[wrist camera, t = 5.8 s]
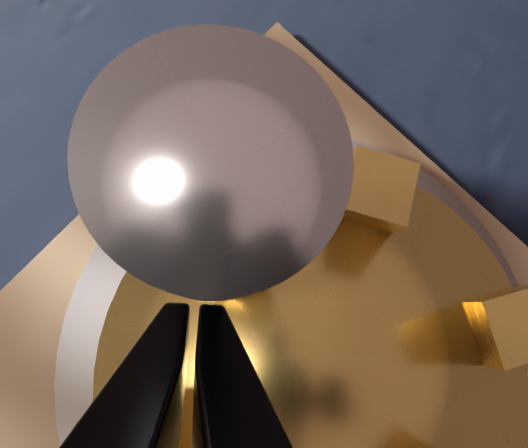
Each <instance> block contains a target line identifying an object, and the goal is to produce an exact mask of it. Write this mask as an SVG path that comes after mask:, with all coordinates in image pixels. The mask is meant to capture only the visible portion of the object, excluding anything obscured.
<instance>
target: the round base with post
mask: <svg viewBox="0 0 528 448" xmlns="http://www.w3.org/2000/svg"><path fill="white" fill-rule="evenodd" d="M67 165H68V175H69V183H70V187H71V191H72V195H73V199H74V202H75V205H76V207H77V210H78V212H79V215H80V217H81V219H82V221H83V222H84V224H85V226H86V228H87V229H88V231H89V233H90V235H91V236H92V237H93V239H94V240H95V241H96V242H97V244H98V245H99V246H100V248H101V249H102V250H103V251H104V252H105V253H106V254H107V255H108V256H109V257H110V258H111V259H112V260H113V261H114V262H115V263H116V264H117V265H119V266H120V267H121V268H123V269H124V270H125V271H127V272H126V273H125V275H124V277H123V278H122V280H121V282H120V284H119V286H118V288H117V291H116V293H115V295H114V297H113V300H112V302H111V304H110V306H109V309H108V311H107V315H106V318H105V322H104V325H103V328H102V332H101V335H100V338H99V343H98V349H97V355H96V361H95V367H94V379H93V401H94V399H95V398H96V397H97V395H98V394H99V393H100V391H101V390H102V389H103V387H104V386H105V384H106V383H107V382H108V380H109V379H110V378H111V376H112V375H113V374H114V372H115V371H116V369H117V368H118V367H119V365H120V364H121V363H122V361H123V360H124V359H125V357H126V356H127V354H128V353H129V352H130V350H131V349H132V348H133V346H134V345H135V344H136V342H137V341H138V339H139V338H140V337H141V335H142V334H143V333H144V331H145V330H146V329H147V327H148V326H149V324H150V323H151V322H152V320H153V319H154V318H155V316H156V315H157V314H158V312H159V311H160V309H161V308H162V307H163V305H164V304H166V303H168V302H174V303H187V304H189V306H190V324H189V346H188V359H187V371H186V383H185V395H184V407H183V419H182V428H181V435H180V441H179V446H178V448H192V416H193V394H194V372H195V351H196V340H197V328H198V317H199V307H200V305H202V304H220V305H223V306H224V307H225V309H226V311H227V313H228V315H229V317H230V319H231V321H232V323H233V325H234V327H235V329H236V331H237V333H238V335H239V337H240V340H241V342H242V344H243V346H244V348H245V350H246V352H247V354H248V356H249V358H250V360H251V362H252V364H253V366H254V368H255V370H256V372H257V374H258V377H259V379H260V381H261V383H262V385H263V387H264V389H265V391H266V393H267V395H268V397H269V399H270V401H271V403H272V405H273V407H274V409H275V411H276V414H277V416H278V418H279V420H280V422H281V424H282V426H283V428H284V430H285V432H286V434H287V436H288V438H289V440H290V442H291V444H292V446H293V448H528V285H521V286H515V287H512V285H511V283H510V281H509V278H508V276H507V274H506V273H505V271H504V270H503V268H502V267H501V265H500V264H499V262H498V260H497V259H496V257H495V256H494V254H493V253H492V251H491V250H490V249H489V247H488V246H487V245H486V244H485V243H484V241H483V240H482V239H481V238H480V237H479V235H478V234H477V233H476V232H475V231H474V229H473V228H472V227H471V226H469V225H468V224H467V223H466V222H465V221H464V220H463V219H462V218H461V217H460V216H459V215H458V214H457V213H456V212H455V211H454V210H452V209H451V208H450V207H448V206H447V205H446V204H444V203H443V202H442V201H440V200H439V199H438V198H436V197H435V196H434V195H432V194H430V193H429V192H427V191H425V190H423V189H422V188H420V187H418V186H416V183H417V179H418V174H419V169H420V163H417V162H413V161H410V160H407V159H403V158H400V157H397V156H393V155H390V154H387V153H383V152H380V151H377V150H373V149H370V148H367V147H364V146H360V145H357V146H356V147H355V148H354V149H353V146H352V141H351V135H350V131H349V128H348V125H347V121H346V118H345V115H344V113H343V111H342V109H341V107H340V105H339V103H338V100H337V99H336V97H335V95H334V94H333V92H332V91H331V89H330V88H329V86H328V84H327V83H326V82H325V81H324V80H323V78H322V77H321V76H320V75H319V74H318V72H317V71H316V70H315V69H314V68H313V67H312V66H311V65H310V64H308V63H307V62H306V61H305V60H304V59H303V58H302V57H300V56H299V55H298V54H296V53H295V52H294V51H292V50H291V49H289V48H288V47H286V46H284V45H283V44H281V43H279V42H277V41H276V40H274V39H271V38H269V37H266V36H264V35H262V34H259V33H257V32H253V31H250V30H246V29H243V28H238V27H232V26H226V25H211V24H202V25H189V26H183V27H178V28H173V29H169V30H166V31H163V32H160V33H157V34H154V35H152V36H149V37H147V38H145V39H143V40H141V41H139V42H137V43H135V44H134V45H132V46H131V47H129V48H127V49H126V50H124V51H123V52H121V53H120V54H119V55H118V56H117V57H115V58H114V59H113V60H112V61H111V62H110V63H108V64H107V65H106V67H105V68H104V69H103V70H102V71H101V72H100V73H99V74H98V75H97V76H96V78H95V79H94V81H93V82H92V84H91V85H90V86H89V88H88V89H87V91H86V92H85V94H84V96H83V98H82V100H81V102H80V104H79V106H78V108H77V111H76V114H75V117H74V120H73V123H72V126H71V131H70V137H69V142H68V158H67ZM80 419H81V418H80ZM80 419H79V420H80ZM79 420H78V421H79ZM78 421H77V422H76V424H77V423H78Z"/></svg>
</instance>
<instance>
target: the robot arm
mask: <svg viewBox="0 0 528 448" xmlns="http://www.w3.org/2000/svg"><path fill="white" fill-rule="evenodd" d="M189 324H190V306H189V304H187V303H174V302H168V303H166V304H164V305H163V307H162V308H161V309H160V311H159V312H158V314H157V315H156V316H155V318H154V319H153V320H152V322H151V323H150V324H149V326H148V327H147V329H146V330H145V331H144V333H143V334H142V335H141V337H140V338H139V339H138V341H137V342H136V344H135V345H134V346H133V348H132V349H131V350H130V352H129V353H128V354H127V356H126V357H125V359H124V360H123V361H122V363H121V364H120V365H119V367H118V368H117V369H116V371H115V372H114V374H113V375H112V376H111V378H110V379H109V380H108V382H107V383H106V384H105V386H104V387H103V389H102V390H101V391H100V393H99V394H98V395H97V397H96V398H95V399H94V401H93V402H92V404H91V405H90V406H89V408H88V409H87V410H86V412H85V413H84V414H83V416H82V417H81V419H80V420H79V421H78V423H77V424H76V425H75V427H74V428H73V429H72V431H71V432H70V434H69V435H68V436H67V438H66V439H65V440H64V442H63V443H62V444H61V446H60V447H59V448H178V446H179V441H180V435H181V428H182V419H183V407H184V395H185V383H186V371H187V359H188V346H189ZM192 448H293V446H292V444H291V442H290V440H289V438H288V436H287V434H286V432H285V430H284V428H283V426H282V424H281V422H280V420H279V418H278V416H277V414H276V411H275V409H274V407H273V405H272V403H271V401H270V399H269V397H268V395H267V393H266V391H265V389H264V387H263V385H262V383H261V381H260V379H259V377H258V374H257V372H256V370H255V368H254V366H253V364H252V362H251V360H250V358H249V356H248V354H247V352H246V350H245V348H244V346H243V344H242V342H241V340H240V337H239V335H238V333H237V331H236V329H235V327H234V325H233V323H232V321H231V319H230V317H229V315H228V313H227V311H226V309H225V307H224V306H223V305H220V304H202V305H200V307H199V317H198V328H197V340H196V351H195V372H194V394H193V416H192Z"/></svg>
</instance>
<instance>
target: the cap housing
mask: <svg viewBox="0 0 528 448" xmlns="http://www.w3.org/2000/svg"><path fill="white" fill-rule="evenodd" d="M264 36H266V37H269V38H271V39H274V40H276V41H277V42H279V43H281V44H283V45H284V46H286V47H288V48H289V49H291V50H292V51H294V52H295V53H296V54H298V55H299V56H300V57H302V58H303V59H304V60H305V61H306V62H307V63H308V64H310V65H311V66H312V67H313V68H314V69H315V70H316V71H317V72H318V74H319V75H320V76H321V77H322V78H323V80H324V81H325V82H326V83H327V84H328V86H329V88H330V89H331V91H332V92H333V94H334V95H335V97H336V99H337V100H338V103H339V105H340V107H341V109H342V111H343V113H344V115H345V118H346V121H347V125H348V128H349V131H350V135H351V141H352V146H353V149H354V148H355V147H356V146H357V145H360V146H364V147H367V148H370V149H373V150H377V151H380V152H383V153H387V154H390V155H393V156H397V157H400V158H403V159H407V160H410V161H413V162H417V163H420V169H419V174H418V179H417V183H416V186H418V187H420V188H422V189H423V190H425V191H427V192H429V193H430V194H432V195H434V196H435V197H436V198H438V199H439V200H440V201H442V202H443V203H444V204H446V205H447V206H448V207H450V208H451V209H452V210H454V211H455V212H456V213H457V214H458V215H459V216H460V217H461V218H462V219H463V220H464V221H465V222H466V223H467V224H468V225H469V226H471V227H472V228H473V229H474V231H475V232H476V233H477V234H478V235H479V237H480V238H481V239H482V240H483V241H484V243H485V244H486V245H487V246H488V247H489V249H490V250H491V251H492V253H493V254H494V256H495V257H496V259H497V260H498V262H499V264H500V265H501V267H502V268H503V270H504V271H505V273H506V274H507V276H508V278H509V281H510V283H511V285H512V287H515V286H521V285H528V247H527V246H526V245H525V244H524V243H523V242H522V241H521V240H519V239H518V238H517V237H516V236H515V235H514V234H513V233H512V232H511V231H509V230H508V229H507V228H506V227H505V226H504V225H503V224H502V223H500V222H499V221H498V220H497V219H496V218H495V217H494V216H493V215H492V214H490V213H489V212H488V211H487V210H486V209H485V208H484V207H483V206H482V205H480V204H479V203H478V202H477V201H476V200H475V199H474V198H473V197H471V196H470V195H469V194H468V193H467V192H466V191H465V190H464V189H463V188H461V187H460V186H459V185H458V184H457V183H456V182H455V181H454V180H453V179H451V178H450V177H449V176H448V175H447V174H446V173H445V172H444V171H442V170H441V169H440V168H439V167H438V166H437V165H436V164H435V163H434V162H432V161H431V160H430V159H429V158H428V157H427V156H426V155H425V154H424V153H422V152H421V151H420V150H419V149H418V148H417V147H416V146H415V145H413V144H412V143H411V142H410V141H409V140H408V139H407V138H406V137H405V136H403V135H402V134H401V133H400V132H399V131H398V130H397V129H396V128H395V127H393V126H392V125H391V124H390V123H389V122H388V121H387V120H386V119H385V118H383V117H382V116H381V115H380V114H379V113H378V112H377V111H376V110H374V109H373V108H372V107H371V106H370V105H369V104H368V103H367V102H366V101H364V100H363V99H362V98H361V97H360V96H359V95H358V94H357V93H356V92H354V91H353V90H352V89H351V88H350V87H349V86H348V85H347V84H345V83H344V82H343V81H342V80H341V79H340V78H339V77H338V76H337V75H335V74H334V73H333V72H332V71H331V70H330V69H329V68H328V67H327V66H325V65H324V64H323V63H322V62H321V61H320V60H319V59H318V58H316V57H315V56H314V55H313V54H312V53H311V52H310V51H309V50H308V49H306V48H305V47H304V46H303V45H302V44H301V43H300V42H299V41H298V40H296V39H295V38H294V37H293V36H292V35H291V34H290V33H289V32H288V31H286V30H285V29H284V28H283V27H282V26H281V25H280V24H279V23H276V24H275V25H274V26H273V27H272V28H271V29H270V30H269V31H268V32H266V33H265V34H264ZM126 272H127V271H125V270H124V269H123V268H121V267H120V266H119V265H117V264H116V263H115V262H114V261H113V260H112V259H111V258H110V257H109V256H108V255H107V254H106V253H105V252H104V251H103V250H102V249H101V248H100V246H99V245H98V244H97V242H96V241H95V240H94V239H93V237H92V236H91V235H90V233H89V231H88V229H87V228H86V226H85V224H84V222H83V221H82V219H81V217H80V215H78V216H77V217H76V218H75V219H74V220H73V221H72V222H71V223H70V224H69V225H68V226H67V227H66V228H65V229H64V230H63V231H62V232H60V233H59V234H58V235H57V236H56V237H55V238H54V239H53V240H52V241H51V242H50V243H49V244H48V245H47V246H46V247H45V248H44V249H43V250H42V251H41V252H40V253H39V254H38V255H37V256H36V257H35V258H34V259H33V260H32V261H31V262H30V263H29V264H28V265H27V266H25V267H24V268H23V269H22V270H21V271H20V272H19V273H18V274H17V275H16V276H15V277H14V278H13V279H12V280H11V281H10V282H9V283H8V284H7V285H6V286H5V287H4V288H3V289H2V290H1V291H0V448H59V447H60V446H61V444H62V443H63V442H64V440H65V439H66V438H67V436H68V435H69V434H70V432H71V431H72V429H73V428H74V427H75V425H76V422H77V421H78V420H79V419H80V418H81V417H82V416H83V414H84V413H85V412H86V410H87V409H88V408H89V406H90V405H91V404H92V402H93V379H94V367H95V361H96V355H97V349H98V343H99V338H100V335H101V332H102V328H103V325H104V322H105V318H106V315H107V311H108V309H109V306H110V304H111V302H112V300H113V297H114V295H115V293H116V291H117V288H118V286H119V284H120V282H121V280H122V278H123V277H124V275H125V273H126Z"/></svg>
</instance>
